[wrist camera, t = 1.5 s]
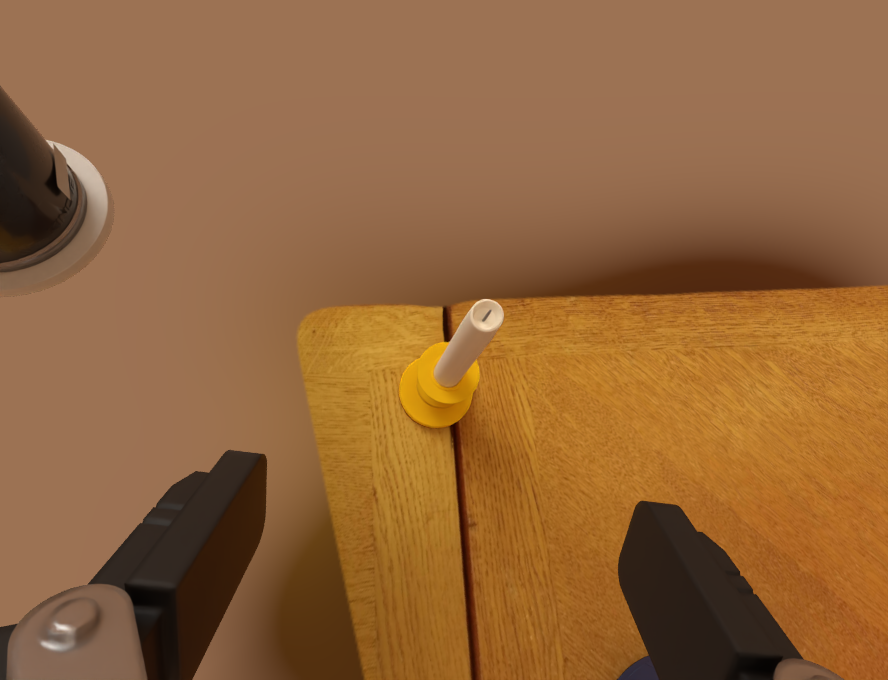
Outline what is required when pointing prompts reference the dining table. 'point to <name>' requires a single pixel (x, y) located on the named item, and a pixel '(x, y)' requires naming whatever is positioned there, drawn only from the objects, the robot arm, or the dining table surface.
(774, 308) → the dining table surface
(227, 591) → the robot arm
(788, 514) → the dining table surface
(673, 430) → the dining table surface
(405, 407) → the candle
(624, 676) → the navy blue cup
